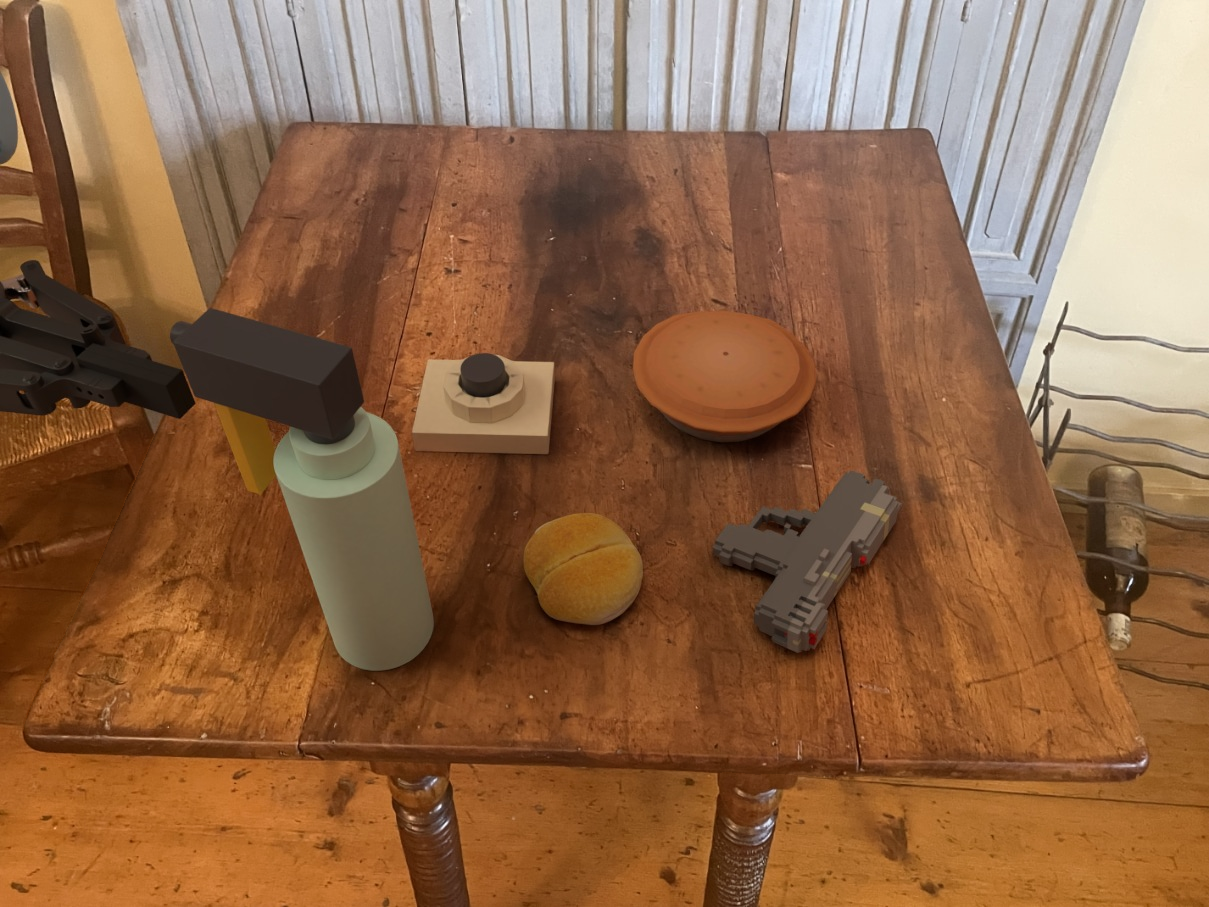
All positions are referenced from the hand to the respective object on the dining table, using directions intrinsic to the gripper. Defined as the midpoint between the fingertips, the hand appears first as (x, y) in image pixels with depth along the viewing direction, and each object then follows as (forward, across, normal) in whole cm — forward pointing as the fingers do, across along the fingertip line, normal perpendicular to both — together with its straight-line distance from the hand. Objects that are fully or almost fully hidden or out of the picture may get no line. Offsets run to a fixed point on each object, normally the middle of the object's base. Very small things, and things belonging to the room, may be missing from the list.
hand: (180, 394), depth 58 cm
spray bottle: (+8, 0, -19) cm, 20 cm away
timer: (+8, -22, -19) cm, 30 cm away
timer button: (+8, -22, -15) cm, 28 cm away
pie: (+26, -32, -19) cm, 45 cm away
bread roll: (+22, -9, -19) cm, 30 cm away
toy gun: (+36, -17, -19) cm, 44 cm away
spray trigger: (+4, 0, -6) cm, 7 cm away
